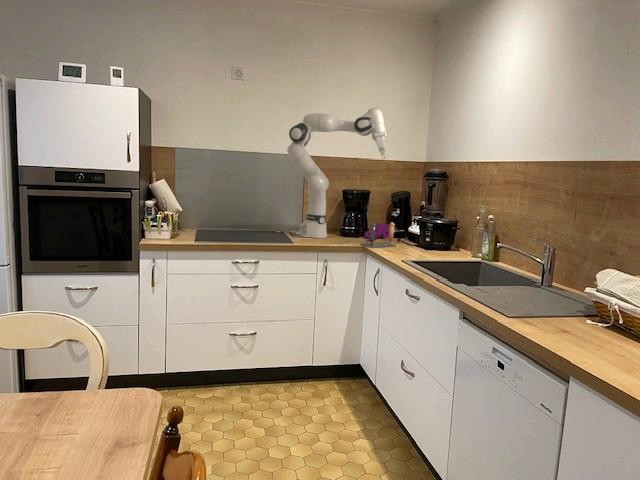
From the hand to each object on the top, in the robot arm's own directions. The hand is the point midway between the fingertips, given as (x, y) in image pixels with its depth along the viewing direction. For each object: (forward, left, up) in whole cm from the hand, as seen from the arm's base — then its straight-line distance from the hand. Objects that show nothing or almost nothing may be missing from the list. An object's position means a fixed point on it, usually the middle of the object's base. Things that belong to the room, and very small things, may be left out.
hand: (383, 157), depth 288 cm
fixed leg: (+11, -16, -50) cm, 54 cm away
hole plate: (+11, -9, -52) cm, 54 cm away
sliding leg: (+11, 0, -50) cm, 51 cm away
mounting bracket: (-14, +13, -52) cm, 56 cm away
